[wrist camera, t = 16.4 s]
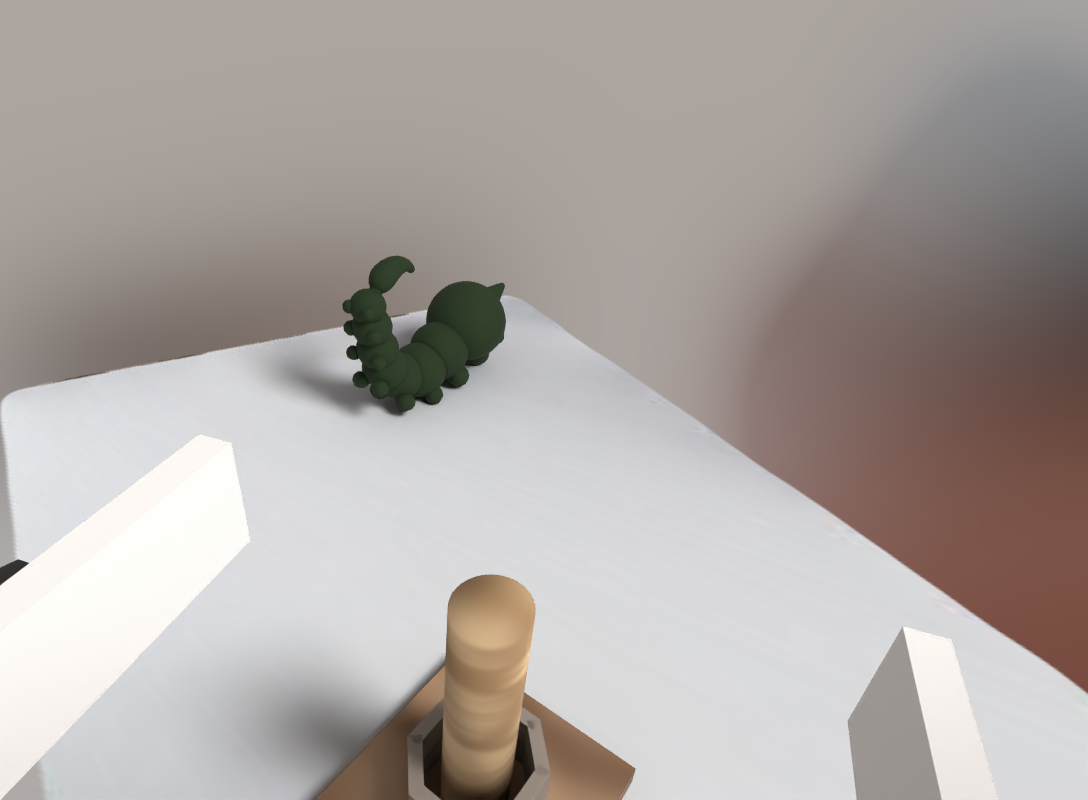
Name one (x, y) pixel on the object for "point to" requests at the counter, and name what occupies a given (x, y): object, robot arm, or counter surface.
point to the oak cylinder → (484, 686)
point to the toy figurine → (422, 336)
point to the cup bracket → (538, 772)
